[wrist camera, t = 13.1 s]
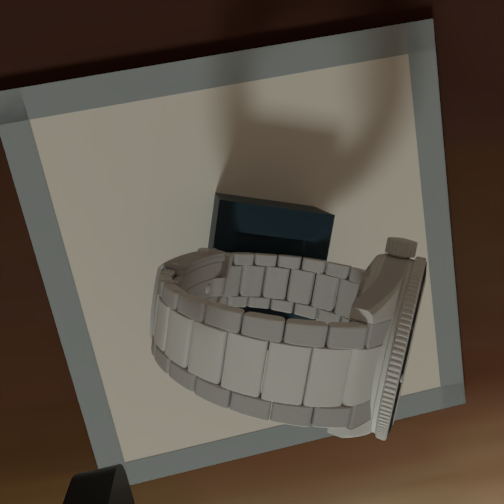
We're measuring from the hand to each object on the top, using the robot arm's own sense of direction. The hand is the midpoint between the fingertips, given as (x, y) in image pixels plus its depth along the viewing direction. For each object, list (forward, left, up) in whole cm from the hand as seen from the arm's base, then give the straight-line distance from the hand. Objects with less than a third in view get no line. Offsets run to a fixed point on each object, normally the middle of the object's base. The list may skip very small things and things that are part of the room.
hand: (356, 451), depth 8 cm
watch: (0, +1, -13) cm, 13 cm away
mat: (0, 0, -13) cm, 13 cm away
